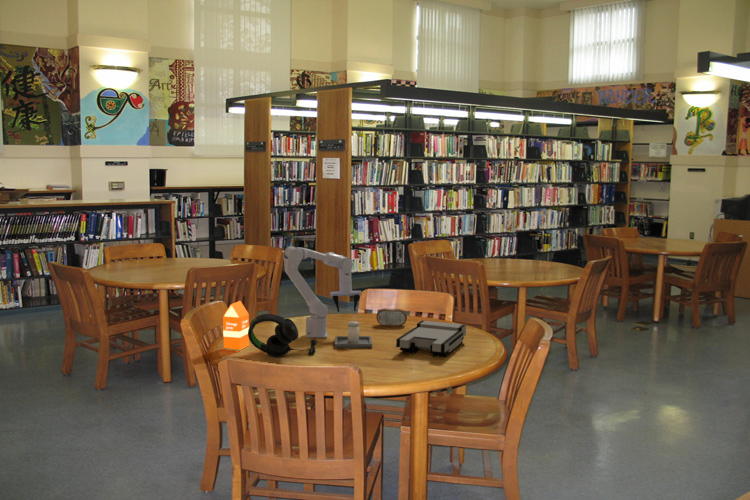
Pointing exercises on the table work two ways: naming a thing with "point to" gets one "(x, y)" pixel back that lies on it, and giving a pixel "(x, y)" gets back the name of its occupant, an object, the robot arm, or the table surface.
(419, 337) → the game console
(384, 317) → the tin
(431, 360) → the table surface
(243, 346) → the orange juice
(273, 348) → the headset
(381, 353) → the table surface
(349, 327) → the cylinder
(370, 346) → the tray
